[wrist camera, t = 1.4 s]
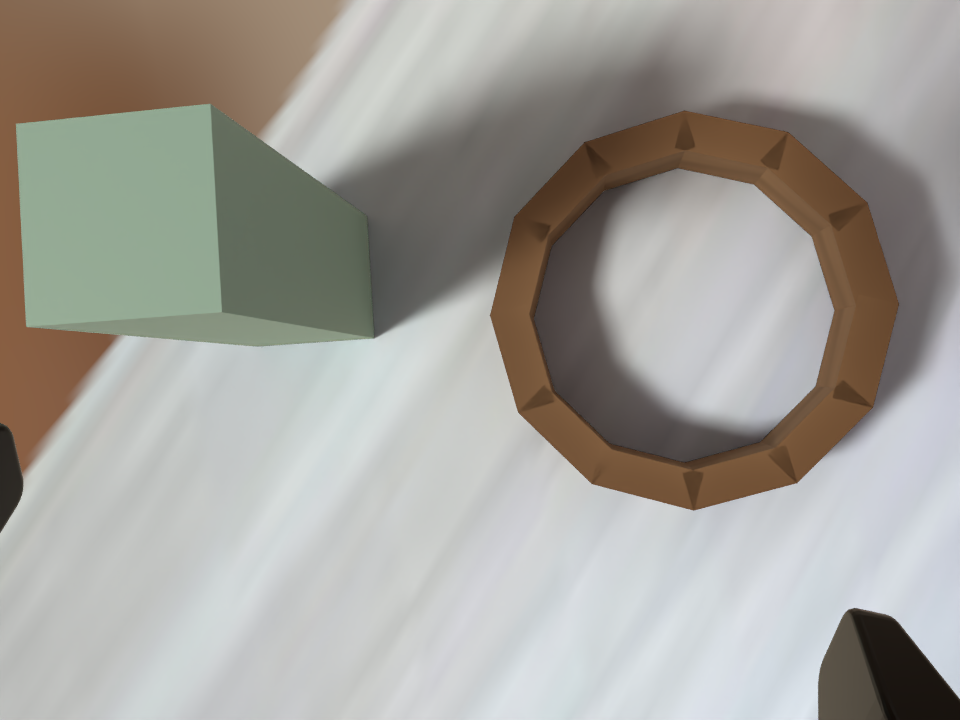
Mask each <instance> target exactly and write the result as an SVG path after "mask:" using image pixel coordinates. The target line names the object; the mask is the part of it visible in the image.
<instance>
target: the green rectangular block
mask: <svg viewBox="0 0 960 720" xmlns="http://www.w3.org/2000/svg"><path fill="white" fill-rule="evenodd" d="M16 132H17V152H18V172H19V192H20V209H21V210H20V211H21V230H22V251H23V269H24V291H25V310H26V326H27V327H35V328H46V329H59V330H70V331H81V332H93V333H104V334H116V335H128V336H140V337H151V338H163V339H175V340H186V341H198V342H210V343H221V344H233V345H245V346H270V345H285V344H299V343H314V342H328V341H342V340H357V339H371V338H374V324H373V307H372V291H371V274H370V257H369V240H368V224H367V216H366V215H365V214H364V213H362V212H361V211H359V210H358V209H357V208H355V207H354V206H352V205H351V204H350V203H348V202H347V201H345V200H344V199H343V198H341V197H340V196H338V195H337V194H336V193H334V192H333V191H331V190H330V189H329V188H327V187H326V186H324V185H323V184H322V183H320V182H319V181H317V180H316V179H315V178H313V177H312V176H310V175H309V174H308V173H306V172H305V171H303V170H302V169H301V168H299V167H298V166H296V165H295V164H294V163H292V162H291V161H289V160H288V159H287V158H285V157H284V156H282V155H281V154H280V153H278V152H277V151H275V150H274V149H273V148H271V147H270V146H269V145H267V144H266V143H264V142H263V141H262V140H260V139H259V138H257V137H256V136H255V135H253V134H252V133H250V132H249V131H248V130H246V129H245V128H243V127H242V126H241V125H239V124H238V123H236V122H235V121H234V120H232V119H231V118H229V117H228V116H227V115H225V114H224V113H222V112H221V111H220V110H218V109H217V108H215V107H214V106H212V105H211V104H205V105H195V106H185V107H175V108H166V109H156V110H147V111H137V112H128V113H117V114H108V115H98V116H89V117H79V118H69V119H61V120H60V119H59V120H50V121H40V122H30V123H21V124H16Z"/></svg>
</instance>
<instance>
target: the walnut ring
mask: <svg viewBox="0 0 960 720" xmlns="http://www.w3.org/2000/svg"><path fill="white" fill-rule="evenodd" d="M676 168H680V169H685V170H690V171H694V172H699V173H704V174H708V175H713V176H718V177H722V178H727V179H731V180H736V181H741V182H745V183H750V184H754V185H755V186H756V187H757V188H759V189H760V190H761V191H762V192H763V193H764V194H765V195H766V196H767V197H769V198H770V199H771V200H772V201H773V202H774V203H775V204H776V205H777V206H779V207H780V208H781V209H782V210H783V211H784V212H785V213H786V214H787V215H788V216H790V217H791V218H792V219H793V220H794V221H795V222H796V223H797V224H798V225H800V226H801V227H802V228H803V229H804V230H805V231H806V232H807V233H808V234H810V235H811V236H812V239H813V242H814V245H815V249H816V252H817V255H818V258H819V262H820V265H821V268H822V271H823V275H824V278H825V281H826V284H827V288H828V291H829V294H830V297H831V301H832V304H833V307H834V310H835V311H834V315H833V319H832V323H831V327H830V331H829V335H828V339H827V343H826V347H825V351H824V355H823V359H822V363H821V367H820V371H819V375H818V379H817V383H816V386H815V387H814V389H813V390H812V391H811V392H810V393H809V394H808V395H807V396H806V397H805V398H804V399H803V400H802V401H801V402H800V403H799V404H798V405H797V406H796V407H795V408H794V409H793V410H792V411H791V412H790V413H789V414H788V415H787V416H786V417H785V418H784V419H783V420H782V421H781V422H780V423H779V424H778V425H777V426H776V427H775V428H774V429H773V430H772V431H771V432H770V433H769V434H768V435H767V436H766V437H765V438H764V439H763V440H762V441H761V442H759V443H755V444H751V445H748V446H744V447H740V448H737V449H733V450H729V451H725V452H722V453H718V454H714V455H711V456H707V457H703V458H700V459H696V460H692V461H689V462H685V463H684V462H680V461H676V460H672V459H668V458H665V457H661V456H657V455H653V454H649V453H645V452H641V451H637V450H633V449H629V448H625V447H621V446H617V445H613V444H610V443H608V442H607V441H606V440H605V439H604V438H603V437H602V436H601V435H600V434H599V433H598V432H597V431H596V430H595V429H594V428H593V427H592V426H591V425H590V424H589V423H588V422H587V421H586V420H585V419H583V418H582V417H581V416H580V415H579V414H578V413H577V412H576V411H575V410H574V409H573V408H572V407H571V406H570V405H569V404H568V403H567V402H566V401H565V400H564V399H563V398H562V397H561V396H560V395H559V394H557V393H556V392H555V390H554V387H553V383H552V380H551V376H550V373H549V370H548V366H547V363H546V359H545V356H544V352H543V349H542V345H541V342H540V339H539V335H538V332H537V328H536V325H535V321H534V316H535V312H536V308H537V304H538V300H539V295H540V291H541V287H542V283H543V279H544V275H545V271H546V267H547V263H548V259H549V255H550V251H551V247H552V245H553V244H554V243H555V242H556V241H557V240H558V239H559V238H560V237H561V236H562V235H563V234H564V232H565V231H566V230H567V229H568V228H569V227H570V226H571V225H572V224H573V223H574V222H575V221H576V220H577V219H578V218H579V217H580V216H581V215H582V213H583V212H584V211H585V210H586V209H587V208H588V207H589V206H590V205H591V204H592V203H593V202H594V201H595V200H596V199H597V198H598V197H599V196H600V195H601V193H602V192H603V191H605V190H608V189H612V188H615V187H618V186H621V185H624V184H628V183H631V182H634V181H637V180H641V179H644V178H647V177H650V176H653V175H657V174H660V173H663V172H666V171H670V170H673V169H676ZM898 306H899V303H898V300H897V296H896V293H895V290H894V287H893V283H892V280H891V277H890V274H889V271H888V267H887V264H886V261H885V258H884V255H883V251H882V248H881V245H880V242H879V239H878V235H877V232H876V229H875V226H874V222H873V219H872V216H871V213H870V210H869V206H868V203H867V202H866V201H865V200H864V199H863V198H861V197H860V196H859V195H858V194H857V193H856V192H855V191H854V190H852V189H851V188H850V187H849V186H848V185H847V184H846V183H845V182H843V181H842V180H841V179H840V178H839V177H838V176H837V175H836V174H835V173H833V172H832V171H831V170H830V169H829V168H828V167H827V166H826V165H824V164H823V163H822V162H821V161H820V160H819V159H818V158H817V157H815V156H814V155H813V154H812V153H811V152H810V151H809V150H808V149H806V148H805V147H804V146H803V145H802V144H801V143H800V142H799V141H797V140H796V139H795V138H794V137H793V136H792V135H791V134H790V133H788V132H785V131H780V130H775V129H770V128H765V127H761V126H756V125H751V124H746V123H741V122H736V121H732V120H727V119H722V118H717V117H712V116H707V115H703V114H698V113H693V112H688V111H682V112H679V113H676V114H673V115H669V116H666V117H663V118H660V119H657V120H654V121H650V122H647V123H644V124H641V125H638V126H635V127H632V128H628V129H625V130H622V131H619V132H616V133H613V134H609V135H606V136H603V137H600V138H597V139H594V140H590V141H587V142H584V144H583V145H582V146H581V147H580V148H579V149H578V150H577V151H576V152H575V153H574V154H573V155H572V156H571V157H570V158H569V160H568V161H567V162H566V163H565V164H564V165H563V166H562V167H561V168H560V169H559V170H558V171H557V172H556V173H555V174H554V175H553V177H552V178H551V179H550V180H549V181H548V182H547V183H546V184H545V185H544V186H543V187H542V188H541V189H540V190H539V191H538V192H537V193H536V195H535V196H534V197H533V198H532V199H531V200H530V201H529V202H528V203H527V204H526V205H525V206H524V207H523V208H522V209H521V210H520V212H519V213H518V214H517V215H516V216H515V217H514V220H513V224H512V228H511V232H510V237H509V241H508V245H507V249H506V253H505V257H504V261H503V265H502V269H501V273H500V277H499V281H498V285H497V290H496V294H495V298H494V302H493V306H492V310H491V314H490V316H491V320H492V323H493V327H494V330H495V334H496V337H497V341H498V344H499V348H500V351H501V354H502V358H503V361H504V365H505V368H506V372H507V375H508V379H509V382H510V386H511V389H512V393H513V396H514V400H515V403H516V407H517V410H518V413H519V414H520V415H521V416H522V417H523V418H524V419H526V420H527V421H528V422H529V423H530V424H531V425H532V426H533V427H534V428H535V429H536V430H537V431H538V432H539V433H540V434H541V435H542V436H543V437H544V438H545V439H546V440H547V441H548V442H549V443H550V444H551V445H552V446H553V447H554V448H555V449H556V450H557V451H559V452H560V453H561V454H562V455H563V456H564V457H565V458H566V459H567V460H568V461H569V462H570V463H571V464H572V465H573V466H574V467H575V468H576V469H577V470H578V471H579V472H580V473H581V474H582V475H583V476H584V477H585V478H586V479H587V480H588V481H589V482H591V483H592V484H594V485H598V486H602V487H606V488H609V489H613V490H617V491H621V492H625V493H629V494H633V495H636V496H640V497H644V498H648V499H652V500H656V501H659V502H663V503H667V504H671V505H675V506H679V507H682V508H686V509H690V510H693V511H694V510H697V509H701V508H705V507H709V506H712V505H716V504H720V503H724V502H727V501H731V500H735V499H739V498H743V497H746V496H750V495H754V494H758V493H761V492H765V491H769V490H773V489H776V488H780V487H784V486H788V485H791V484H795V483H798V482H799V481H800V480H801V479H802V478H803V477H804V476H805V475H806V474H807V473H808V472H809V471H810V470H811V469H812V468H813V467H814V466H815V465H816V464H817V463H818V462H819V461H820V460H821V459H822V458H823V457H824V456H825V455H826V454H827V453H828V452H829V451H830V450H831V449H832V448H833V447H834V446H835V445H836V444H837V443H838V442H839V441H840V440H841V439H842V438H843V437H844V436H845V435H846V434H847V433H848V432H849V431H850V430H851V429H852V428H853V427H854V426H855V425H856V424H857V423H858V422H859V421H860V420H861V419H862V418H863V417H864V416H865V415H866V414H867V413H868V412H869V411H870V410H871V409H872V408H873V405H874V401H875V397H876V393H877V389H878V385H879V381H880V377H881V373H882V369H883V365H884V361H885V357H886V353H887V349H888V345H889V341H890V337H891V333H892V329H893V326H894V322H895V318H896V314H897V310H898Z"/></svg>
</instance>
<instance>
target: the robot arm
mask: <svg viewBox="0 0 960 720" xmlns="http://www.w3.org/2000/svg"><path fill="white" fill-rule="evenodd" d="M22 492H23V476H22V472H21V468H20V463H19V459H18V455H17V451H16V446H15V442H14V437H13V434H12V432H11V431H10V429H9V428H8V427H7V426H5V425H4V424H1V423H0V533H1V531H2V529H3V528H4V526H5V525H6V523H7V521H8V520H9V518H10V516H11V515H12V513H13V512H14V510H15V508H16V507H17V505H18V503H19V501H20V498H21V496H22ZM818 720H960V699H959V698H958V696H957V695H956V694H955V693H954V691H953V690H952V689H951V688H950V686H949V685H948V684H947V683H946V681H945V680H944V679H943V678H942V676H941V675H940V674H939V673H938V671H937V670H936V669H935V668H934V666H933V665H932V664H931V663H930V661H929V660H928V659H927V658H926V656H925V655H924V654H923V653H922V651H921V650H920V649H919V648H918V646H917V645H916V644H915V643H914V641H913V640H912V639H911V638H910V636H909V635H908V634H907V633H906V631H905V630H904V629H903V628H902V626H901V625H900V624H899V623H898V622H897V621H896V620H895V619H894V618H892V617H891V616H888V615H886V614H881V613H876V612H872V611H867V610H863V609H858V608H853V609H849V610H848V611H847V612H846V613H845V614H844V615H843V617H842V619H841V621H840V623H839V625H838V628H837V630H836V632H835V634H834V637H833V639H832V641H831V643H830V645H829V648H828V650H827V652H826V654H825V656H824V659H823V661H822V664H821V668H820V673H819V681H818Z"/></svg>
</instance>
